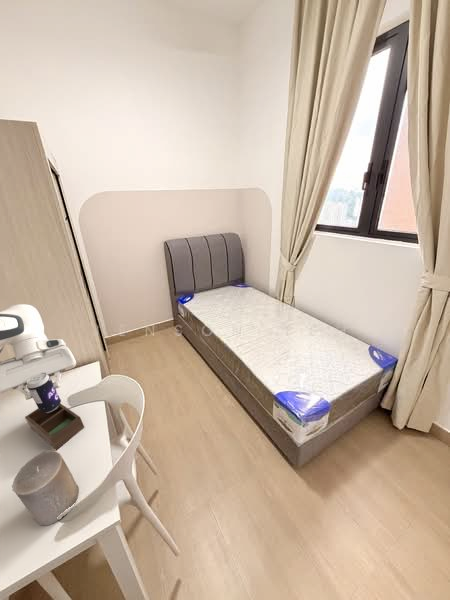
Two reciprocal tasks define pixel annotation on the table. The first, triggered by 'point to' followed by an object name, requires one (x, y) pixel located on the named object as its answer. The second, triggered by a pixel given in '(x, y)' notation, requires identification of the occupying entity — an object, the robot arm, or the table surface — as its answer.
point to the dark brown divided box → (55, 425)
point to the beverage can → (43, 392)
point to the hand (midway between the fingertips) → (43, 393)
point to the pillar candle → (46, 487)
